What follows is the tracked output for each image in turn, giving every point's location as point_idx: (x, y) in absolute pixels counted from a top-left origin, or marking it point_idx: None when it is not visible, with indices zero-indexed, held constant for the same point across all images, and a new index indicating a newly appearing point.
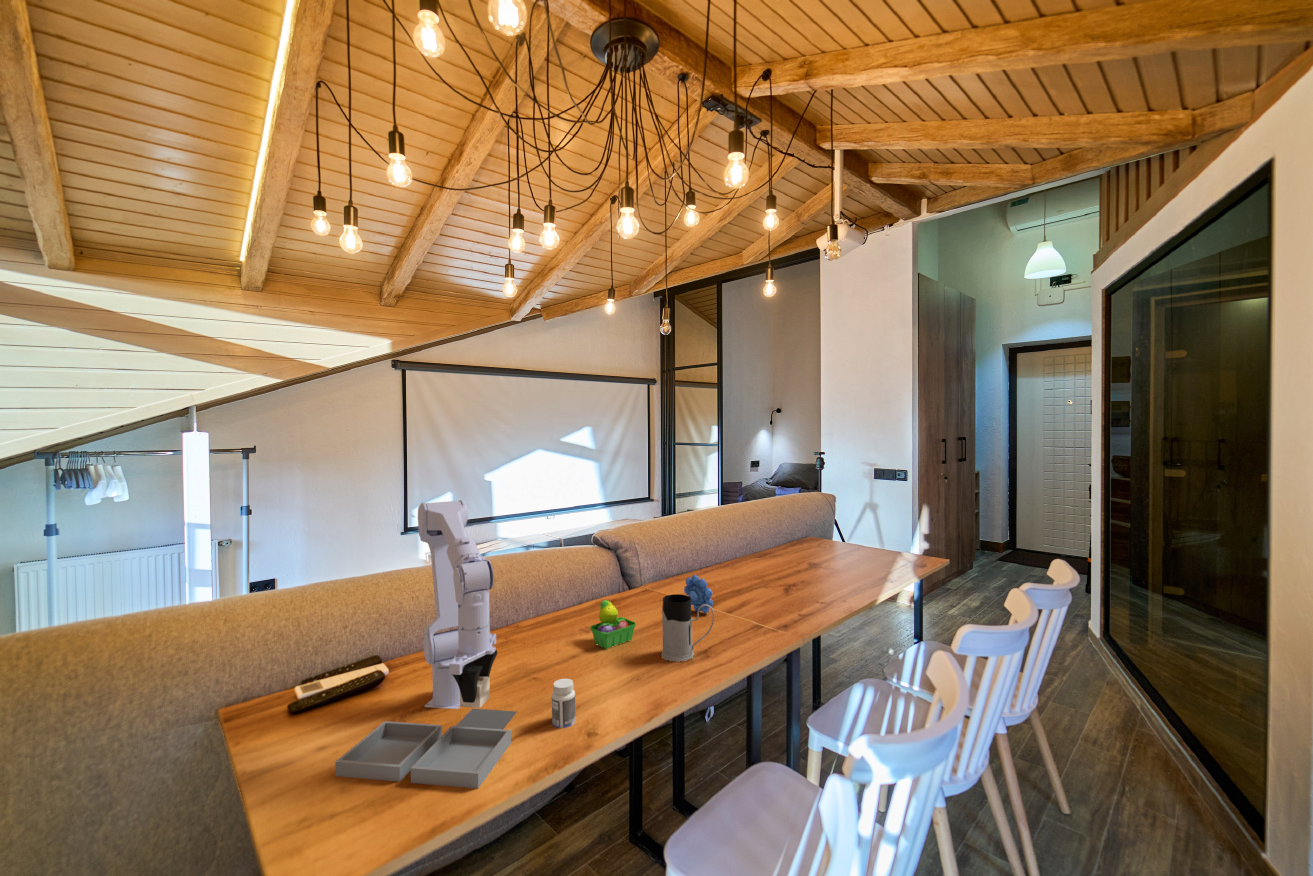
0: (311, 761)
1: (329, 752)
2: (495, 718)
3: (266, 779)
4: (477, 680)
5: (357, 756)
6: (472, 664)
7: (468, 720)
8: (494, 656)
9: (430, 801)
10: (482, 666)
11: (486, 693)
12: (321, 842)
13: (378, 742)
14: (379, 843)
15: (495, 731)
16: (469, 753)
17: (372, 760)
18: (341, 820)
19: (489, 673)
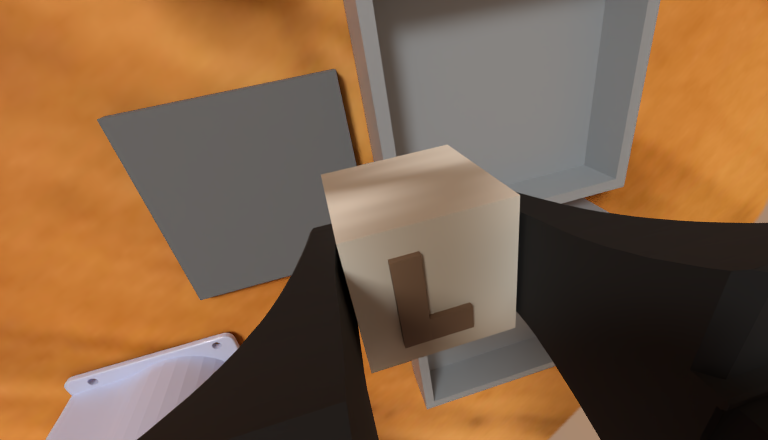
0: (516, 399)
1: (486, 402)
2: (209, 175)
3: (565, 404)
4: (579, 229)
5: (522, 348)
6: (739, 405)
7: (274, 256)
8: (269, 410)
9: None
10: (357, 375)
11: (374, 181)
12: (730, 194)
13: (452, 362)
14: (763, 77)
15: (378, 48)
16: (448, 107)
17: (516, 317)
18: (679, 213)
19: (295, 282)
